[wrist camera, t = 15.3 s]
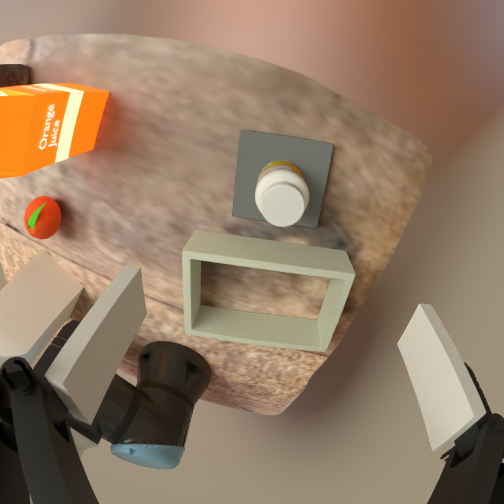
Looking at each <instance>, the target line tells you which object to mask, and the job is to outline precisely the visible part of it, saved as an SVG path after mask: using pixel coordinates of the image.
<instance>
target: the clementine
mask: <svg viewBox="0 0 504 504" xmlns="http://www.w3.org/2000/svg"><path fill="white" fill-rule="evenodd" d="M24 221H25V226H26V229H27V231H28V232H29V233H30V234H31V235H32V236H33V237H35V238H38V239H47V238H49V237H51V236H53V235H54V234H55V233H56V231H57V230H58V228H59V226H60V223H61V210H60V207H59V205H58V204H57V202H56V201H55V200H53V199H52V198H50V197H45V196H42V197H38V198H35V199H34V200H33V201H32V202H31V203H30V204H29V205H28V207H27V209H26V211H25V216H24Z"/></svg>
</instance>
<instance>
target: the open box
mask: <svg viewBox="0 0 504 504" xmlns="http://www.w3.org/2000/svg"><path fill="white" fill-rule="evenodd" d="M201 260H203V261H209V262H216V263H223V264H230V265H237V266H244V267H252V268H259V269H266V270H273V271H281V272H288V273H296V274H303V275H311V276H319V277H327V278H331V279H330V282H329V285H328V289H327V292H326V295H325V298H324V301H323V304H322V307H321V310H320V313H319V316H318V319H317V320H311V319H301V318H292V317H284V316H275V315H267V314H260V313H252V312H245V311H238V310H231V309H225V308H218V307H212V306H206V305H201ZM182 262H183V299H184V321H185V334H190V335H196V336H201V337H207V338H213V339H219V340H225V341H232V342H239V343H246V344H253V345H261V346H269V347H278V348H288V349H298V350H309V351H322V352H326V349H327V347H328V345H329V342H330V340H331V338H332V335H333V333H334V330H335V328H336V325H337V323H338V320H339V318H340V315H341V313H342V310H343V308H344V305H345V302H346V300H347V297H348V294H349V291H350V289H351V286H352V283H353V280H354V277H355V271H354V269H353V267H352V264H351V262H350V260H349V257H348V255H347V253H346V251H343V250H336V249H329V248H323V247H316V246H309V245H302V244H295V243H288V242H281V241H274V240H267V239H259V238H252V237H245V236H238V235H230V234H223V233H215V232H207V231H200V230H195V231H194V233H193V234H192V236H191V237H190V239H189V240H188V242H187V244H186V245H185V247H184V248H183V250H182Z"/></svg>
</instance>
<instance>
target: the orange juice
mask: <svg viewBox="0 0 504 504" xmlns="http://www.w3.org/2000/svg"><path fill="white" fill-rule="evenodd" d="M108 94H109V92H108V91H104V90H99V89H95V88H91V87H87V86H82V85H77V84H33V85H23V86H13V87H4V88H0V178H9V177H18V176H23V175H26V174H28V173H30V172H33V171H35V170H37V169H40V168H42V167H45V166H47V165H50V164H52V163H56V162H59V161H62V160H64V159H67V158H69V157H72V156H74V155H77V154H80V153H83V152H86V151H90V150H93V148H94V144H95V139H96V136H97V132H98V128H99V124H100V121H101V117H102V114H103V110H104V107H105V104H106V101H107V98H108Z"/></svg>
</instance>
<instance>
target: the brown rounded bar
mask: <svg viewBox="0 0 504 504" xmlns="http://www.w3.org/2000/svg"><path fill="white" fill-rule="evenodd" d="M28 77H29V70H28V68H27V67H26V66H25V65H22V64H2V65H0V88H4V87H13V86H23V85H28Z"/></svg>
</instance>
